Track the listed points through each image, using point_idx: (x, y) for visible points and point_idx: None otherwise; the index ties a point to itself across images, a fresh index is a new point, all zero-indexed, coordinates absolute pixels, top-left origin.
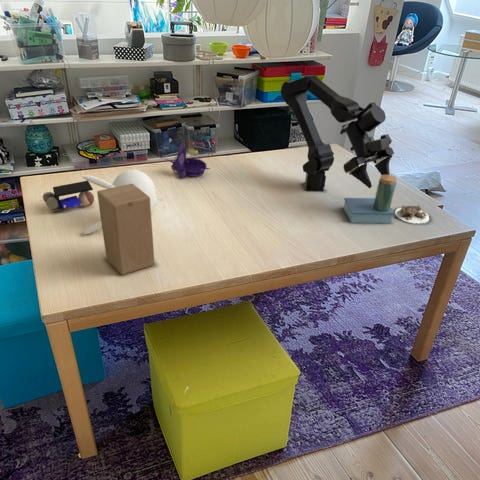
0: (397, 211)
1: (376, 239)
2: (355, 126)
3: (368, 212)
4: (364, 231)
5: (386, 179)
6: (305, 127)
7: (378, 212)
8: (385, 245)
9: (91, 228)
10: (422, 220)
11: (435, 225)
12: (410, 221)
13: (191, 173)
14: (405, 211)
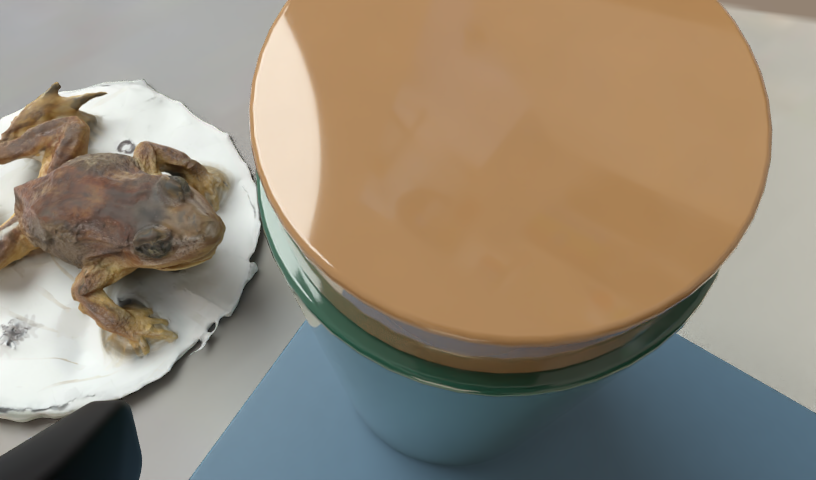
0: (129, 365)
1: (773, 119)
2: None
3: (705, 352)
4: (786, 270)
5: (689, 29)
6: None
7: None
8: (764, 27)
9: None
10: (115, 111)
11: (99, 23)
12: (224, 158)
13: None
14: (199, 194)
